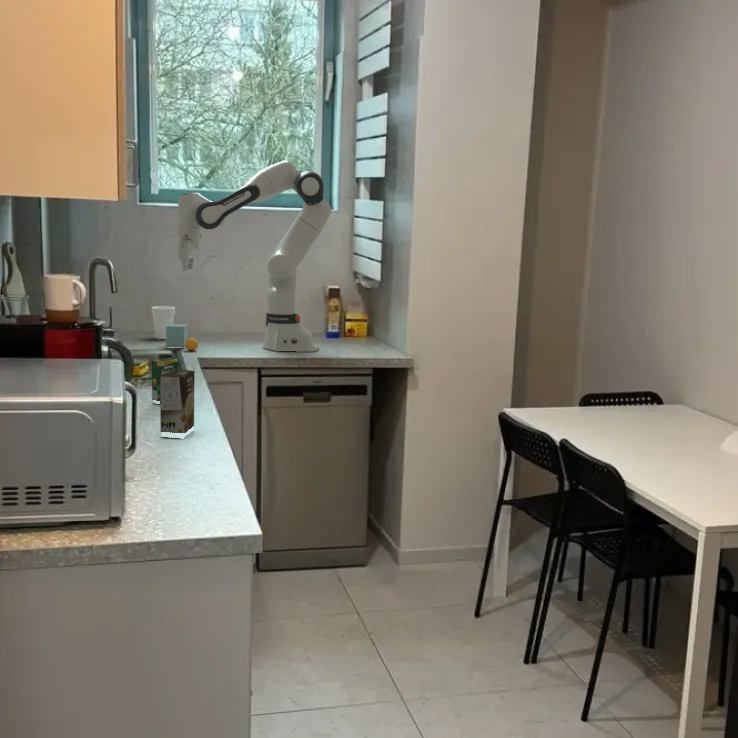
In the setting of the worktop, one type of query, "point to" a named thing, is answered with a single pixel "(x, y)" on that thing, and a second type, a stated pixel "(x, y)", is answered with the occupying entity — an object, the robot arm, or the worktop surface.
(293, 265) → the robot arm
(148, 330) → the worktop surface
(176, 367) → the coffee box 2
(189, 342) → the ball
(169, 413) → the coffee box
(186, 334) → the grey-teal block
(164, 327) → the foam cup
